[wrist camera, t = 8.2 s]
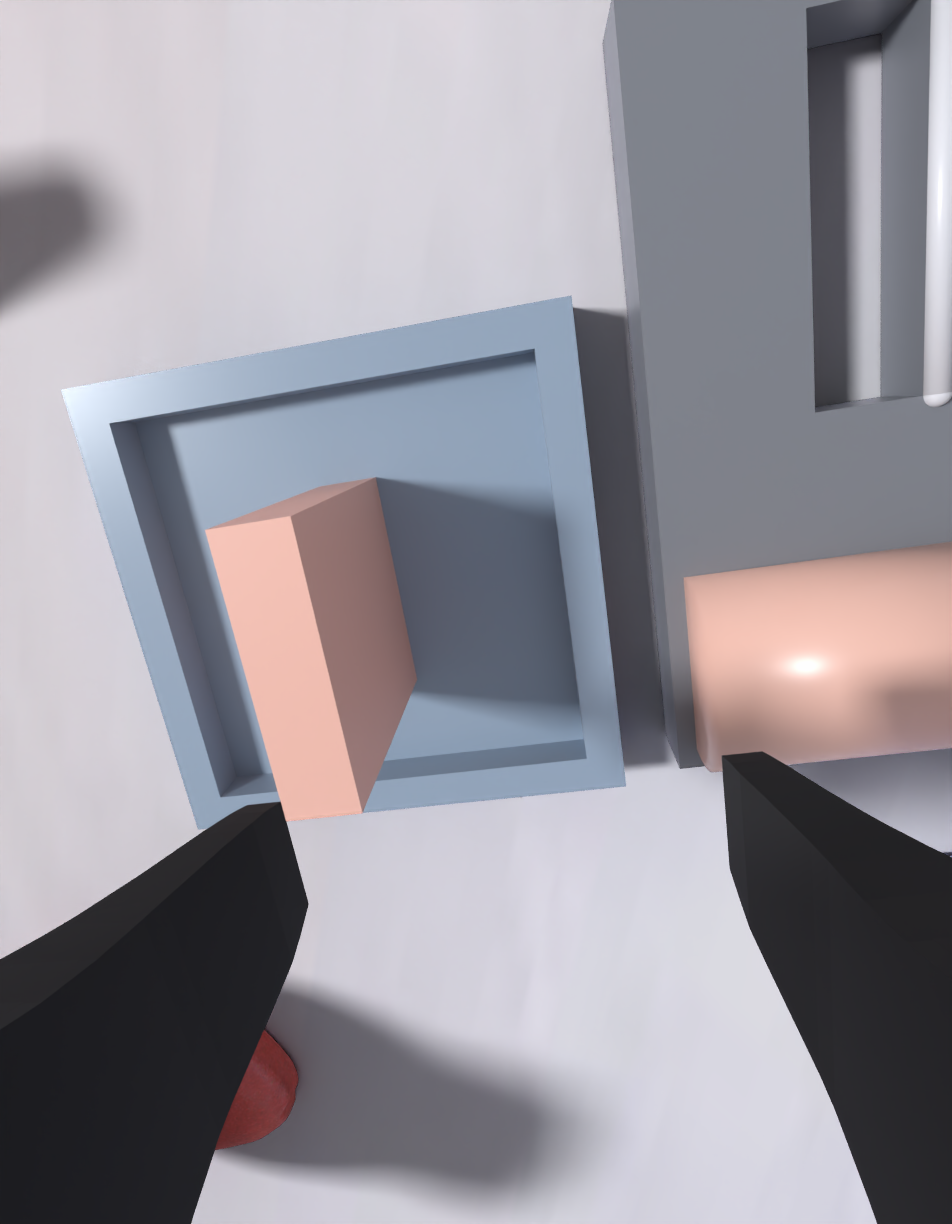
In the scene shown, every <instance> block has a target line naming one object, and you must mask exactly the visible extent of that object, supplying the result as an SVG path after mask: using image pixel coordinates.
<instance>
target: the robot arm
mask: <svg viewBox="0 0 952 1224" xmlns="http://www.w3.org/2000/svg"><path fill="white" fill-rule="evenodd" d="M722 769H723V783H724V796H725V810H726V824H727V837H728V851H729V865H730V871H731V874H732V877H733V880H734V883H735V886H736V889H737V892H738V895H739V898H740V901H741V904H742V907H743V910H744V913H745V916H746V919H747V921H748V924H749V927H750V930H751V932H752V934H753V936H754V938H755V940H756V943H757V945H758V947H759V949H760V951H761V953H762V955H763V957H764V960H765V962H766V964H767V966H768V968H769V970H770V972H771V974H772V976H773V978H774V981H775V983H776V985H777V987H778V989H779V991H780V993H781V995H782V997H783V999H784V1001H785V1003H786V1005H787V1008H788V1010H789V1012H790V1014H791V1016H792V1018H793V1020H794V1022H795V1024H796V1026H797V1028H798V1030H799V1033H800V1035H801V1037H802V1039H803V1041H804V1043H805V1045H806V1047H807V1049H808V1051H809V1053H810V1055H811V1057H812V1060H813V1062H814V1064H815V1066H816V1068H817V1070H818V1072H819V1074H820V1076H821V1079H822V1081H823V1083H824V1086H825V1088H826V1090H827V1093H828V1095H829V1097H830V1099H831V1102H832V1104H833V1106H834V1109H835V1111H836V1114H837V1116H838V1119H839V1122H840V1124H841V1127H842V1130H843V1132H844V1135H845V1138H846V1140H847V1143H848V1146H849V1148H850V1151H851V1154H852V1156H853V1159H854V1162H855V1164H856V1167H857V1170H858V1172H859V1175H860V1178H861V1180H862V1183H863V1186H864V1188H865V1191H866V1194H867V1196H868V1199H869V1202H870V1205H871V1207H872V1210H873V1213H874V1216H875V1218H876V1221H877V1224H952V856H948V855H946V854H943V853H941V852H939V851H937V850H935V849H933V848H931V847H929V846H927V845H925V844H923V843H921V842H919V841H917V840H915V839H913V838H911V837H910V836H908V835H906V834H904V833H902V832H900V831H898V830H896V829H894V828H892V827H890V826H888V825H886V824H885V823H883V822H881V821H879V820H877V819H876V818H874V817H872V816H870V815H868V814H867V813H865V812H863V811H861V810H860V809H858V808H856V807H854V806H853V805H851V804H849V803H847V802H846V801H844V800H842V799H841V798H839V797H837V796H836V795H834V794H832V793H831V792H829V791H827V790H826V789H824V788H822V787H821V786H819V785H818V784H816V783H814V782H813V781H811V780H809V779H808V778H806V777H805V776H803V775H801V774H800V773H798V772H797V771H795V770H793V769H792V768H790V767H788V766H787V765H785V764H784V763H782V762H780V761H779V760H777V759H775V758H774V757H772V756H770V755H768V754H767V753H765V752H763V751H760V752H750V753H741V754H731V755H722ZM307 908H308V900H307V896H306V893H305V889H304V885H303V882H302V878H301V874H300V871H299V867H298V863H297V859H296V856H295V852H294V848H293V845H292V841H291V837H290V834H289V830H288V826H287V823H286V819H285V815H284V812H283V808H282V804H281V802H271V803H262V804H252V805H246V806H244V807H242V808H240V809H238V810H236V811H235V812H233V813H231V814H230V815H228V816H226V817H225V818H223V819H222V820H220V821H218V822H217V823H215V824H214V825H212V826H211V827H209V828H208V829H206V830H205V831H203V832H202V833H200V834H199V835H197V836H196V837H195V838H193V839H192V840H190V841H189V842H187V843H186V844H184V845H183V846H181V847H180V848H179V849H177V850H176V851H174V852H173V853H171V854H170V855H168V856H167V857H165V858H164V859H163V860H161V861H160V862H158V863H157V864H155V865H154V866H152V867H151V868H149V869H148V870H147V871H145V872H144V873H142V874H141V875H139V876H138V877H136V878H135V879H133V880H131V881H130V882H128V883H127V884H125V885H124V886H122V887H121V888H119V889H118V890H116V891H114V892H113V893H111V894H110V895H108V896H107V897H105V898H104V899H102V900H101V901H99V902H97V903H96V904H94V905H93V906H91V907H90V908H88V909H87V910H85V911H83V912H82V913H80V914H79V915H77V916H76V917H74V918H72V919H71V920H69V921H67V922H66V923H64V924H62V925H61V926H59V927H57V928H56V929H54V930H52V931H50V932H49V933H47V934H45V935H44V936H42V937H40V938H38V939H36V940H35V941H33V942H31V943H29V944H27V945H26V946H24V947H22V948H20V949H18V950H16V951H15V952H13V953H11V954H9V955H7V956H6V957H4V958H2V959H0V1224H191V1222H192V1219H193V1215H194V1212H195V1209H196V1206H197V1203H198V1200H199V1197H200V1194H201V1191H202V1188H203V1185H204V1182H205V1178H206V1175H207V1172H208V1169H209V1166H210V1163H211V1160H212V1157H213V1154H214V1151H215V1148H216V1145H217V1142H218V1139H219V1136H220V1133H221V1131H222V1128H223V1126H224V1123H225V1121H226V1118H227V1115H228V1113H229V1110H230V1108H231V1105H232V1103H233V1100H234V1098H235V1096H236V1093H237V1091H238V1089H239V1086H240V1084H241V1082H242V1079H243V1077H244V1075H245V1072H246V1070H247V1068H248V1066H249V1063H250V1061H251V1059H252V1056H253V1054H254V1052H255V1049H256V1047H257V1045H258V1042H259V1040H260V1038H261V1036H262V1033H263V1031H264V1029H265V1026H266V1024H267V1022H268V1019H269V1017H270V1015H271V1012H272V1010H273V1008H274V1005H275V1003H276V1001H277V998H278V996H279V994H280V991H281V989H282V986H283V984H284V982H285V979H286V977H287V975H288V972H289V970H290V967H291V965H292V962H293V959H294V955H295V952H296V949H297V945H298V942H299V939H300V935H301V931H302V927H303V924H304V920H305V916H306V912H307Z"/></svg>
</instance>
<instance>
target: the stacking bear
mask: <svg viewBox="0 0 952 1224" xmlns="http://www.w3.org/2000/svg"><path fill="white" fill-rule="evenodd" d="M297 1084H298V1074H297V1071H296V1069H295V1066H294V1064H293V1062H292V1060H291V1059H290V1058H289V1056H288V1055H287V1054H286V1053H285V1051H284V1050H283V1049H282V1048H281V1046H280V1045H279V1044H278V1043H277V1042H276V1041H275V1040H274V1039H273V1038H272V1037H271V1036H270V1035H269V1034H268V1033H267V1032H266V1031H265V1030H264V1031H263V1033H262V1036H261V1038H260V1040H259V1042H258V1045H257V1047H256V1049H255V1052H254V1054H253V1056H252V1059H251V1061H250V1063H249V1066H248V1068H247V1070H246V1072H245V1075H244V1077H243V1079H242V1082H241V1084H240V1086H239V1089H238V1091H237V1093H236V1096H235V1098H234V1100H233V1103H232V1105H231V1108H230V1110H229V1113H228V1115H227V1118H226V1121H225V1123H224V1126H223V1128H222V1131H221V1133H220V1136H219V1139H218V1142H217V1145H216V1148H215V1150H218V1149H224V1148H229V1147H233V1146H238V1145H242V1144H246V1143H250V1142H254V1141H256V1140H259V1139H261V1138H263V1137H264V1136H266V1135H267V1134H269V1133H270V1132H272V1131H273V1130H275V1129H276V1128H278V1127H279V1126H280V1125H281V1124H282V1123H283V1122H284V1121H285V1120H286V1119H287V1117H288V1116H289V1114H290V1111H291V1109H292V1107H293V1105H294V1102H295V1096H296V1095H295V1089H296V1087H297Z"/></svg>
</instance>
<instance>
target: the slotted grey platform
mask: <svg viewBox="0 0 952 1224" xmlns="http://www.w3.org/2000/svg"><path fill="white" fill-rule="evenodd" d="M878 33H882V118H881V397H877V398H871V399H865V400H858V401H852V402H846V403H839V404H833V405H827V406H820V407H815V385H814V340H813V295H812V249H811V204H810V159H809V113H808V68H807V49H809V48H814V47H818V46H823V45H828V44H832V43H837V42H841V41H846V40H851V39H855V38H860V37H864V36H869V35H874V34H878ZM603 52H604V63H605V74H606V85H607V96H608V107H609V117H610V128H611V139H612V150H613V161H614V172H615V183H616V194H617V205H618V216H619V227H620V238H621V249H622V260H623V271H624V282H625V293H626V304H627V314H628V325H629V336H630V347H631V358H632V369H633V380H634V391H635V402H636V413H637V424H638V435H639V446H640V457H641V468H642V479H643V490H644V500H645V511H646V522H647V533H648V544H649V555H650V566H651V577H652V588H653V599H654V610H655V621H656V632H657V643H658V654H659V665H660V676H661V687H662V697H663V708H664V719H665V730H666V737H667V739H668V742H669V744H670V746H671V749H672V751H673V754H674V756H675V758H676V761H677V763H678V765H679V768H680V769H682V768H692V767H702V766H705V767H706V768H707V769H708V770H709V771H710V772H722V771H723V769H722V755H731V754H741V753H750V752H760V751H763V752H765V753H767V754H768V755H770V756H772V757H774V758H775V759H777V760H779V761H780V762H782V763H784V764H785V765H791V764H801V763H811V762H821V761H830V760H840V759H850V758H860V757H870V756H880V755H890V754H899V753H909V752H919V751H929V750H939V749H949V748H952V0H611V4H610V9H609V14H608V19H607V24H606V29H605V34H604V39H603Z"/></svg>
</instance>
